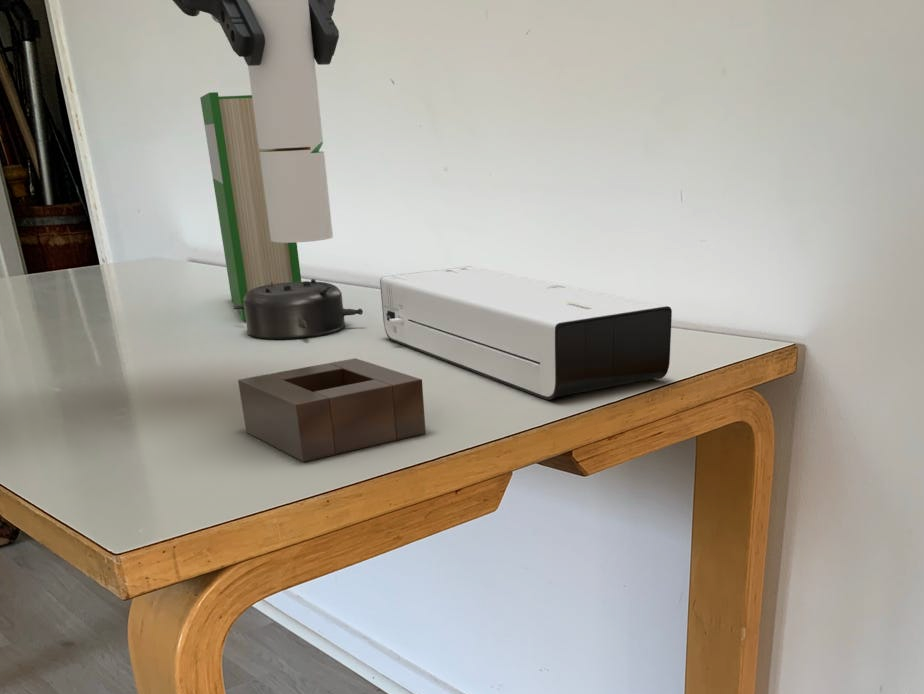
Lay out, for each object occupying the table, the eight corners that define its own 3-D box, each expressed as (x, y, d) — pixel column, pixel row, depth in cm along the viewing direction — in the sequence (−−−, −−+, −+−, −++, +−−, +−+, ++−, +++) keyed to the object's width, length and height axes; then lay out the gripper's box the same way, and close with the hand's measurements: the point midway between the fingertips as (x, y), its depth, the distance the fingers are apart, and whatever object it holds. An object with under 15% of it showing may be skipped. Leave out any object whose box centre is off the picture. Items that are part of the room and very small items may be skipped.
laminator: (669, 382, 83) (672, 305, 80) (545, 406, 78) (543, 325, 75) (476, 324, 110) (474, 265, 107) (375, 339, 105) (369, 278, 102)
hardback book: (305, 315, 120) (277, 89, 109) (243, 321, 118) (209, 92, 107) (286, 295, 135) (260, 94, 124) (231, 300, 133) (200, 97, 122)
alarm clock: (372, 324, 112) (276, 322, 121) (365, 274, 110) (268, 275, 119) (301, 343, 104) (205, 338, 114) (293, 289, 102) (195, 289, 111)
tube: (293, 243, 66) (260, -24, 59) (259, 240, 69) (224, -16, 62) (345, 237, 69) (319, -21, 62) (310, 233, 72) (282, -13, 64)
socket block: (303, 462, 68) (295, 404, 66) (245, 432, 75) (237, 379, 73) (426, 433, 73) (422, 379, 71) (360, 407, 80) (355, 357, 78)
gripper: (83, -222, 59) (193, -3, 56) (301, -195, 66) (409, 1, 63) (79, -96, 65) (178, 107, 62) (278, -84, 72) (375, 99, 69)
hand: (293, 52), depth 62 cm, fingers closed on tube, 4 cm apart
